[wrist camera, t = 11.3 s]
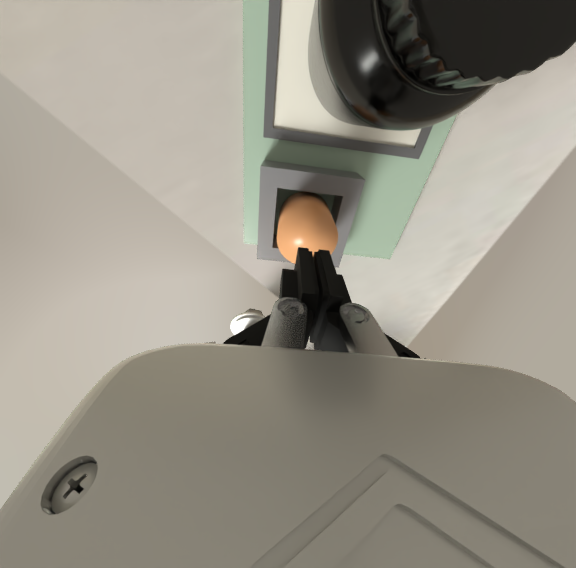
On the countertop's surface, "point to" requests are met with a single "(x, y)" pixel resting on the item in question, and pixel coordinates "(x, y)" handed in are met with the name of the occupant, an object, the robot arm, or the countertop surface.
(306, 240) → the button
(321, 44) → the supplement bottle
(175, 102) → the countertop surface
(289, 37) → the mint green tray
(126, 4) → the countertop surface
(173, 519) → the robot arm
